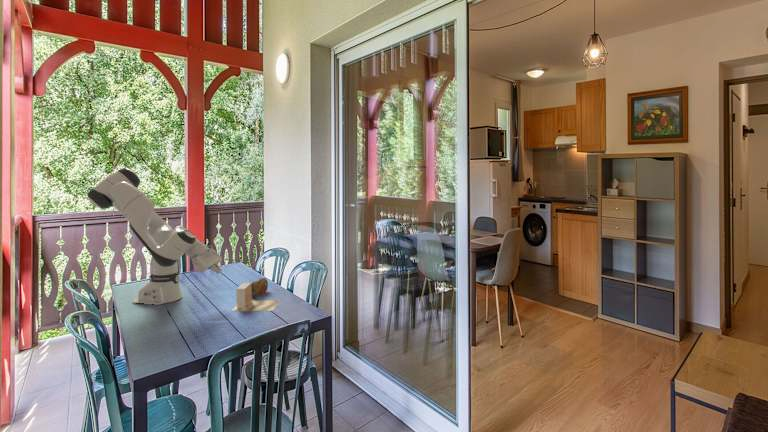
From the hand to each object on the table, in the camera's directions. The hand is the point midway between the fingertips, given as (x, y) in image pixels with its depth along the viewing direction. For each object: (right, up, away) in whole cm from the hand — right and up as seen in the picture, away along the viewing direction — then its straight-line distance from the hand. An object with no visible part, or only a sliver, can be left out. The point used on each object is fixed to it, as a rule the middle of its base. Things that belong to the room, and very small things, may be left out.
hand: (220, 272), depth 185 cm
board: (+17, -17, +2) cm, 25 cm away
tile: (+11, -17, +2) cm, 20 cm away
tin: (+12, -16, +20) cm, 29 cm away
